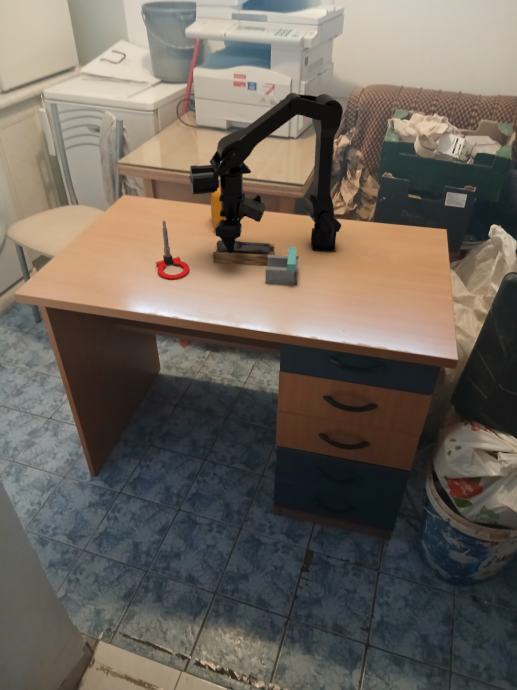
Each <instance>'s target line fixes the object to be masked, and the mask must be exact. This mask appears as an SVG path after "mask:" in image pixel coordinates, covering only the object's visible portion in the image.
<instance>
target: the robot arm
mask: <svg viewBox="0 0 517 690" xmlns="http://www.w3.org/2000/svg"><path fill="white" fill-rule="evenodd" d="M343 115H344V109H343V106H342V104H340V101H338V100H337V99H335V98H333V97H332V96H331V95H329V94H326V93H322V94H319V95H317V96H316V95H311V94H300V93H295V92H290V93H288V94H287V95H286V96H285V97H283V98H282V100H281V101H279V102H278V103H276V104H275V105H274V106H272V107H271V108H270V109H269V110H267V111H266V112H265V113H264V114H262V115H261V116H260V117H258V118H257V119H255V120H254V121H253V122H252V123H250V124H248V126H247V127H245V128H242V129H238V130H236V131H232V132H231V133H228V135H227V134H226V135H224V136H223V137H221V138H220V139H219V141H218V142H217V147H216V150H215V153H214V154H213V155H212V157H211V159H210V160H209V164H205V165H195V164H194V165H190V166H189V170H190V171H189V176H188V177H189V179H188V180H189V187H190V192H191V195H192V196H194V195H204V194H205V195H207V194H211V193H215V191H217V188H219V187H220V191H221V194H220V197H219V201H221V211H220V216H222V217H225V219H226V220H220V221H219V222H218V223H217V226H216V228H215V229H214V231H215V236H216V237H218V238H220V240H222V241H223V243H224V245H225V247H226V248H227V250H228V252H229V253H233V251H234V245H235V241H237V238H240V237H241V234H242V222H241V221H242V219H244V218H245V217H246V218H249V219H252V220H254V221H255V222H258V223H259V222H261V220H262V217H263V215H264V213H265V209H266V205H265V202H263V198H262V195H259V194H255V195H254V196H252V197H250V198H248V197H246V192H245V191H244V181H243V180H244V177H243V175H246V174H247V175H248V174H251V173H252V171H251V169H250V168H249V166H248V165H247V164H245V161H246V160H247V158H248V157H250V156H251V154H252V152H253V151H254V149H255V148H256V146H258V145H259V144H260V143H261V142H263V140H265V139H266V138H267V137H269V136H270V135H272V134H273V133H274V132H276V131H277V130H279V129H280V128H281V127H283V126H284V125H285V124H286V123H288V122H289V121H290V120H292V119H293V118H294V117H296V116H301V117H306V118H309V119H311V120H312V125H313V129H314V132H315V151H314V165H313V166H314V167H313V168H314V169H313V188H312V191H311V193H310V194H305V195H304V197H305V198H304V199H305V204H304V209H305V210H306V213H307V215H308V216H309V217H310V219H311V220H312V221H313V223H314V225H313V227H312V228H311V233H310V245H311V250H312V251H319V252H322V251H323V252H336V240H337V233H338V232H340V230H341V228H342V223H341V222H339V220H338V219H337V218H336V217H335V209H334V202H333V198H332V194H331V188H332V187H331V185H332V172H333V171H332V170H333V159H334V146H335V145H334V144H335V137H336V135H337V133H338V131H339V129H340V127H341V123H342V119H343Z"/></svg>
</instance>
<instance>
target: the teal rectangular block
mask: <svg viewBox="0 0 517 690" xmlns="http://www.w3.org/2000/svg"><path fill="white" fill-rule="evenodd" d="M287 251H288V254H287V256H288V261H287V271H293V272H295V263H296V256H297V246H288V250H287Z"/></svg>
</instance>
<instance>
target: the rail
mask: <svg viewBox="0 0 517 690" xmlns="http://www.w3.org/2000/svg"><path fill="white" fill-rule="evenodd" d="M218 241H219V240H217V241H216V249H215V251H213V252H212V257H213V259H212V261H213V264H214V263H215V264H231V265H246V266H247V265H248V266H262V267H263V266H266V267H267V264H268V255H265V254H246V253H228V252H218V250H217V247H218ZM274 253H275V244H274V243H270V253H269V255H275V254H274Z"/></svg>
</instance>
